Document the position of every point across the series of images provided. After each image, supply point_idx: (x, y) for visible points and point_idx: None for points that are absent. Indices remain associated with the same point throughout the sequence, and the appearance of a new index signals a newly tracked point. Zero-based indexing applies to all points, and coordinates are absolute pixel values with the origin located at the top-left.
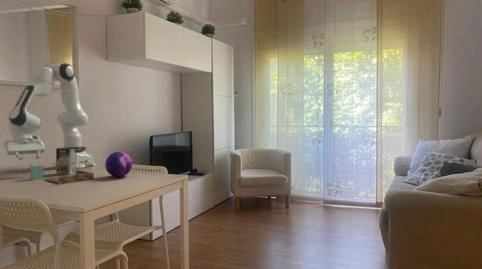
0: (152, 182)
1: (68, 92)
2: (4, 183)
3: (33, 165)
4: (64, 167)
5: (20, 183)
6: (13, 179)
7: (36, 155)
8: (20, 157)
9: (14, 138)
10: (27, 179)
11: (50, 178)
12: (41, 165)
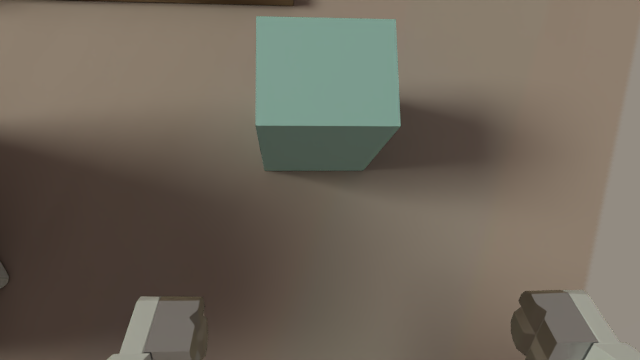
0: None
1: None
2: (617, 129)
3: (373, 74)
4: None
5: (511, 17)
6: (495, 303)
7: (195, 347)
8: (571, 294)
9: None
10: (391, 186)
11: None
12: (276, 19)
